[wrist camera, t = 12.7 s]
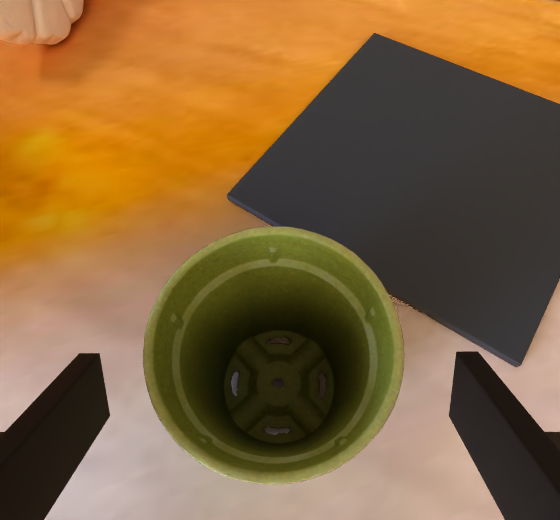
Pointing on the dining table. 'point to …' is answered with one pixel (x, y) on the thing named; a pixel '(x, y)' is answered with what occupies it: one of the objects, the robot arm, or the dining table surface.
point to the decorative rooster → (37, 20)
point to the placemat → (427, 188)
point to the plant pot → (273, 355)
